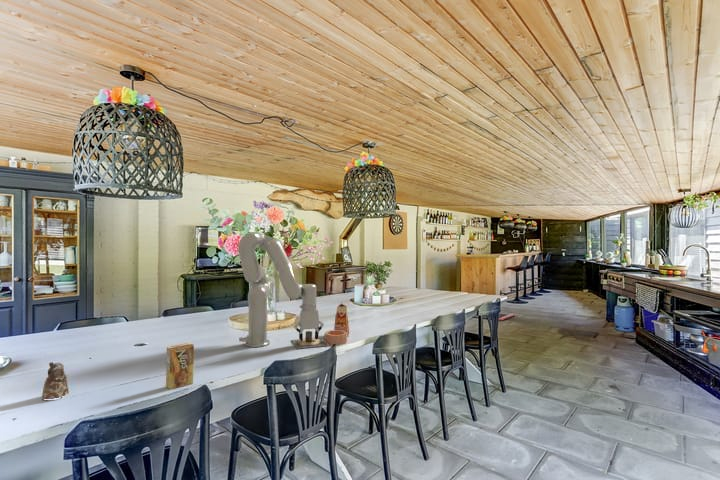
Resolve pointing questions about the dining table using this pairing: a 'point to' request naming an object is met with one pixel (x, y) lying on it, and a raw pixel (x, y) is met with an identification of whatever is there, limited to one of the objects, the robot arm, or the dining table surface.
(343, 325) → the milk carton
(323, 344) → the mat
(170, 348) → the candy box
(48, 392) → the figurine
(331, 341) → the bowl
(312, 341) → the lid
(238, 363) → the dining table surface
